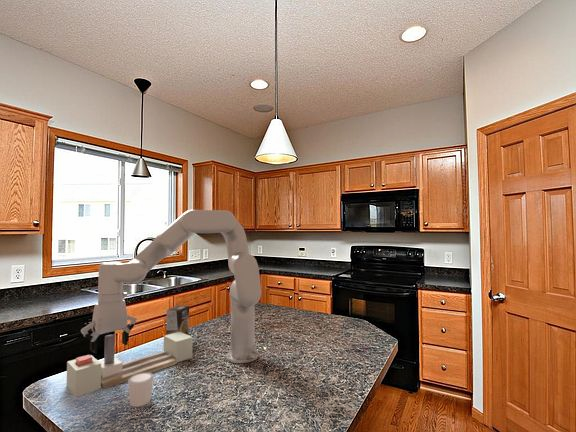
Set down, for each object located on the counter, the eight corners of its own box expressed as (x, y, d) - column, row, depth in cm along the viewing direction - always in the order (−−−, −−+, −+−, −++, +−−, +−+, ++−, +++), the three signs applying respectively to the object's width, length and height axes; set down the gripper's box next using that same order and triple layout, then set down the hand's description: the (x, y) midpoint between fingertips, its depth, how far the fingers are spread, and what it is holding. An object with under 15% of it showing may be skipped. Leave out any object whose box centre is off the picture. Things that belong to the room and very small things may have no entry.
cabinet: (192, 357, 125) (192, 337, 125) (176, 362, 120) (176, 341, 120) (179, 350, 132) (179, 331, 132) (163, 355, 126) (163, 335, 127)
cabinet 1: (100, 388, 100) (101, 363, 101) (75, 397, 95) (75, 370, 96) (90, 378, 107) (91, 355, 107) (66, 386, 102) (67, 361, 102)
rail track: (176, 364, 119) (176, 357, 119) (103, 389, 100) (103, 381, 100) (161, 355, 127) (161, 349, 127) (91, 377, 108) (91, 369, 108)
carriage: (122, 371, 107) (123, 336, 107) (102, 377, 102) (103, 340, 103) (114, 365, 111) (115, 331, 112) (95, 371, 107) (96, 335, 107)
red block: (91, 370, 101) (92, 357, 102) (79, 374, 99) (79, 361, 99) (88, 367, 104) (88, 354, 104) (75, 370, 101) (76, 357, 101)
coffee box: (178, 348, 134) (179, 310, 135) (165, 347, 136) (165, 309, 136) (189, 340, 143) (189, 305, 144) (176, 339, 145) (177, 304, 145)
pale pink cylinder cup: (133, 395, 96) (133, 372, 97) (156, 394, 97) (156, 371, 97) (123, 408, 89) (124, 383, 90) (148, 407, 90) (148, 382, 90)
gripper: (132, 292, 117) (131, 338, 116) (78, 300, 104) (77, 352, 103) (140, 295, 112) (140, 343, 111) (85, 304, 99) (84, 359, 98)
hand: (109, 348), depth 107 cm, fingers open, 9 cm apart
